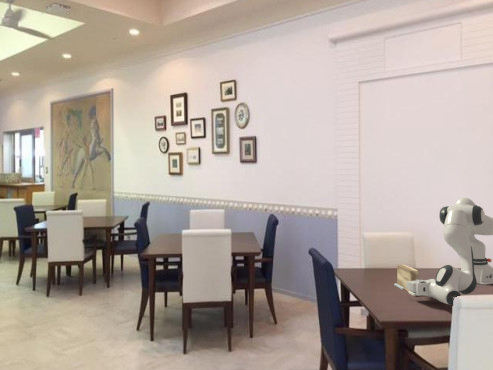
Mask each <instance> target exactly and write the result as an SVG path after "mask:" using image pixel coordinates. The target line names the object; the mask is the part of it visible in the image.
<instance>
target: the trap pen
mask: <svg viewBox="0 0 493 370" xmlns="http://www.w3.org/2000/svg"><path fill="white" fill-rule="evenodd" d="M407 292H408V294H409V295H411V296H413V297H420V296H421V295H417V293H415V292H411V291H407Z"/></svg>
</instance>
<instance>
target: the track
mask: <svg viewBox="0 0 493 370" xmlns="http://www.w3.org/2000/svg"><path fill="white" fill-rule="evenodd" d="M394 286H395V287H396V288H399V289H400V290H402V291H403V290H405V289H404V287H402V286H400V285H398V284H397V282H396V283H394Z"/></svg>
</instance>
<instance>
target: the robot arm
mask: <svg viewBox="0 0 493 370" xmlns="http://www.w3.org/2000/svg"><path fill="white" fill-rule="evenodd" d="M438 218H439V221H440V222H441V224H442V225H443V231H442V232H443V233H442V234H443V235H442V236H443V239H444V241H445V243H446V244H448V245H449V246H450V247H451V248H452V249H453V250H454V251H455V252H456V253H457V255H458V256H459V260H460V269H458V268H457V267H456V266H453V265H451V264H445V265H443V266H442V267H440V268H439V269H438V271H437V273H436V276H435V278H429V279H420V278H418V280H416V281H407V283H406V286H407V289H409V290H411V291H413V292H415V293H417V295H421V296H423V297H424V296H425V297H430V298H433V299H436V300H437V301H438V302H440V303H443V304H446V305H451V306H452V305H454V304H453V300H454V298H455V297H457V296H461V294H462V295H469V294H471V293H473V292H475V290H476V288H477V287H478V284H480V285H485V286H486V285H492V284H493V266H491V265H490V264H489V263H492V261H493V260H492V259H491V258H487V257H486V245H485V244H484V242H482V241H481V240H479V239H477V238H476V235H477V236H493V217H491V216H488V215H486V213H485V211H484V209H483V207H481V206H478V205H477V204H476V203H475V202H474V201H473V200H472V199H471V198H468V197H461V198H459V199H457V200H456V202H455V204H454V205H451V206H449V205H448V206H447V205H446V206H443V207H442V208H440V210H439V214H438ZM461 297H462V296H461Z"/></svg>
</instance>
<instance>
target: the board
mask: <svg viewBox="0 0 493 370" xmlns="http://www.w3.org/2000/svg"><path fill="white" fill-rule="evenodd" d="M396 267H397V268H396V269H397V271H396V273H397V274H396V275H397V279H396V284H398V285H400V286H402V287H404V290H405V291H407V292H408V291H411V290H409V289H407V286H406V283H407V281H416V280H419V270H417V269H415V268H413V267H411V266H408V265H406V264H397V266H396ZM411 292H413V291H411Z"/></svg>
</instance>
